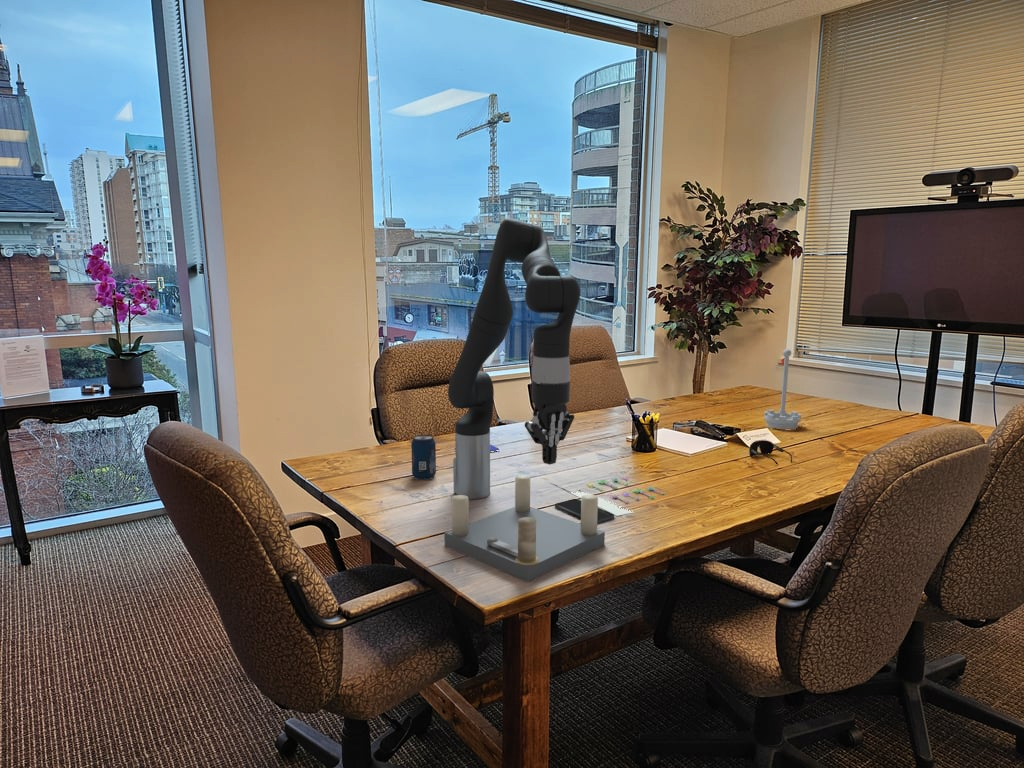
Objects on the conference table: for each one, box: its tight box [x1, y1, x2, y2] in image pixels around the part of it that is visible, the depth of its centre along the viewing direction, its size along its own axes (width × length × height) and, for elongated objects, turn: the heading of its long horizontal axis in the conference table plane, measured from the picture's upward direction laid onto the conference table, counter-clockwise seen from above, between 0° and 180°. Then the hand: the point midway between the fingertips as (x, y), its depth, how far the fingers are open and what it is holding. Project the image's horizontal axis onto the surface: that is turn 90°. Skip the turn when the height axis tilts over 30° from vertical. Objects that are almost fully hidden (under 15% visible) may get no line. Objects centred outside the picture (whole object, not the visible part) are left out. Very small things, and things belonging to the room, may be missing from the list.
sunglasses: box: [748, 439, 793, 465], centre depth 216 cm, size 11×12×5 cm
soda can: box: [410, 434, 437, 481], centre depth 196 cm, size 7×7×12 cm
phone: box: [554, 498, 615, 525], centre depth 169 cm, size 8×1×15 cm
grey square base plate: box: [443, 474, 606, 583], centre depth 148 cm, size 25×25×11 cm
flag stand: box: [763, 348, 802, 430], centre depth 256 cm, size 13×13×30 cm
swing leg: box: [487, 517, 536, 562], centre depth 137 cm, size 13×4×8 cm, turn 45°
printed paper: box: [570, 477, 665, 517], centre depth 187 cm, size 30×30×2 cm
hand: (549, 463), depth 136 cm, fingers closed
